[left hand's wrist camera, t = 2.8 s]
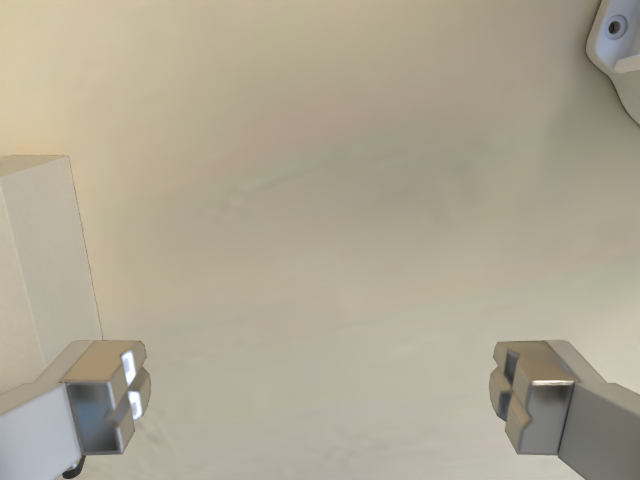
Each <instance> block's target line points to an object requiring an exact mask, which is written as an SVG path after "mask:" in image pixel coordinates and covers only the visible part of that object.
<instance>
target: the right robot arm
mask: <svg viewBox="0 0 640 480" xmlns="http://www.w3.org/2000/svg"><path fill="white" fill-rule="evenodd" d="M85 457H86V455H82V458H81V459H79V460H78V461H77V462H76V463H74V464H73V465H72V466H71V467H70V468H68V469H67V470H66V471H65V472H63V473H62V475H63V478H65V479H71V478H74V477H76V476H77V475H79V473H80V472H81V470H82V467H83V464H84V460H85Z"/></svg>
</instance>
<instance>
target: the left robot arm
mask: <svg viewBox="0 0 640 480" xmlns="http://www.w3.org/2000/svg"><path fill="white" fill-rule="evenodd" d="M611 23H613V24H614V31H613V32H612V33H610V32H609V30H608V28H609V25H610V24H611ZM586 53H587V56H588V57H589V59H590V60H591V61H592V62H593V63H594V64H595V65H596V66H597V67H598V68H599V69H600V70H601V71H603V72H604V73H605V74H607V75H608V76H609V77H610V79H611V80H612V82H613V84H614V86H615V88H616V91H617V93H618V95H619V98H620V100H621V102H622V104H623V106H624V108H625V109H626V111H627V112H628V113H629V115H630V116H631V117H632V118H633V119H634V120H635V121H636V122H637V123H638V124H639V125H640V0H602V2H601V4H600V7H599V10H598V12H597V15H596V18H595V20H594V23H593V26H592V29H591V31H590V34H589V37H588V39H587V43H586ZM146 358H147V355H146V350H145V345H144V344H143V343H142V342H141V341H116V340H98V341H97V340H76V341H72V342H71V343H70V344H69V345H68V346H67V347H66V348H65V349H64V350H63V351H62V352H61V353H60V354H59V355H58V356H57V357H56V359H55V360H54V361H53V362H52V363H51V364H50V365H49V366H48V367H47V368H46V369H45V370H44V371H43V372H42V373H41V374H40V375H39V376H38V378H37V379H36V380H35V381H34V382H33V383H24V384H22V385H20V386H18V387H15V388H13V389H11V390H9V391H7V392H5V393H3V394H0V480H55V479H56V478H57V477H58V476H60V475H61V474H62V473H63V472H65V471H66V470H67V469H68V468H70V467H71V466H72V465H73V464H74V463H76V462H77V461H78V460H79V459H81V458H82V455H113V454H123V453H124V451H125V449H126V447H127V445H128V443H129V441H130V439H131V438H132V436H133V434H134V432H135V426H134V421H136V420H137V419H139V418H140V417H142V416H143V415H144V413H145V411H146V408H147V406H148V402H149V398H150V394H151V381H150V374H149V373H148V372H147V371H146V370H145V369H144V368H143V367H142V365H143V363H144V361H145V360H146ZM493 358H494V360H495V361H496V363H497V365H498V367H497V368H496V369H495V370H494V371H493V372H492V373H491V374H490V383H489V391H490V399H491V403H492V406H493V409H494V411H495V413H496V415H497V416H498V417H500V418H501V419H503V420H504V421H506V426H505V432H506V434H507V436H508V438H509V439H510V441H511V443H512V445H513V447H514V449H515V451H516V453H517V454H526V455H558V458H560V459H561V460H562V461H563V462H564V463H566V464H567V465H568V466H569V467H571V468H572V469H573V470H574V471H576V472H577V473H578V474H579V475H581V476H582V477H583V478H584V479H585V480H640V395H639V394H637V393H635V392H633V391H631V390H629V389H627V388H625V387H622V386H620V385H618V384H616V383H607V382H606V381H605V380H604V379H603V378H602V376H601V375H600V374H599V373H598V372H597V371H596V370H595V369H594V368H593V367H592V366H591V365H590V364H589V363H588V362H587V361H586V360H585V358H584V357H583V356H582V355H581V354H580V353H579V352H578V351H577V350H576V349H575V348H574V347H573V346H572V345H571V344H570V343H569V342H568V341H565V340H542V341H508V342H497V344H496V346H495V349H494V355H493Z"/></svg>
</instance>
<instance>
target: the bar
mask: <svg viewBox="0 0 640 480" xmlns="http://www.w3.org/2000/svg"><path fill="white" fill-rule="evenodd" d="M76 340H97V341H98V340H103V337H102V332H101V327H100V321H99V316H98V311H97V305H96V300H95V295H94V289H93V284H92V279H91V273H90V268H89V263H88V258H87V252H86V247H85V242H84V236H83V231H82V226H81V220H80V215H79V210H78V205H77V199H76V194H75V189H74V183H73V178H72V173H71V167H70V162H69V157H68V156H17V155H10V156H6V157H2V158H0V394H3V393H5V392H7V391H9V390H11V389H13V388H15V387H18V386H20V385H22V384H24V383H33V382H34V381H35V380H36V379H37V378H38V376H39V375H40V374H41V373H42V372H43V371H44V370H45V369H46V368H47V367H48V366H49V365H50V364H51V363H52V362H53V361H54V360H55V359H56V357H57V356H58V355H59V354H60V353H61V352H62V351H63V350H64V349H65V348H66V347H67V346H68V345H69V344H70V343H71V342H72V341H76Z"/></svg>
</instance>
